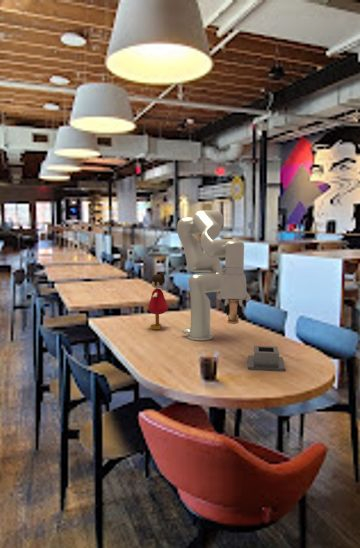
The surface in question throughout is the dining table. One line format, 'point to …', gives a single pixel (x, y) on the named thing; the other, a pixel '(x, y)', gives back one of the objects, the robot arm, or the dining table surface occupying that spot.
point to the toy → (157, 299)
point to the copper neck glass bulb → (233, 311)
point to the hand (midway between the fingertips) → (233, 314)
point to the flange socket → (266, 359)
